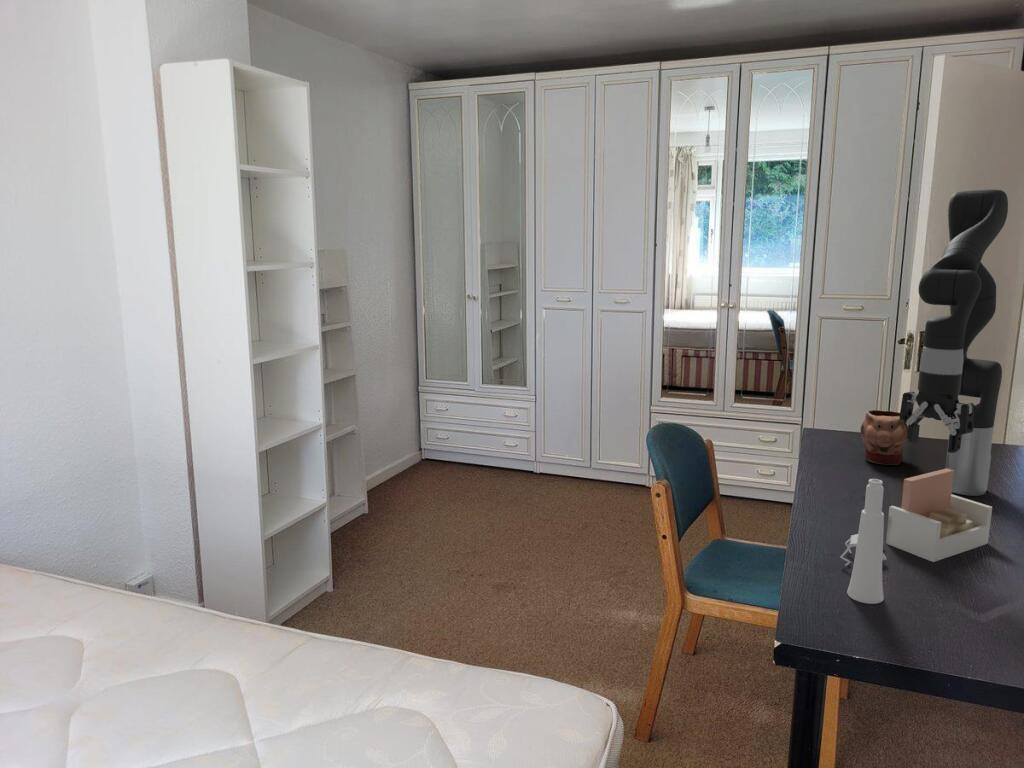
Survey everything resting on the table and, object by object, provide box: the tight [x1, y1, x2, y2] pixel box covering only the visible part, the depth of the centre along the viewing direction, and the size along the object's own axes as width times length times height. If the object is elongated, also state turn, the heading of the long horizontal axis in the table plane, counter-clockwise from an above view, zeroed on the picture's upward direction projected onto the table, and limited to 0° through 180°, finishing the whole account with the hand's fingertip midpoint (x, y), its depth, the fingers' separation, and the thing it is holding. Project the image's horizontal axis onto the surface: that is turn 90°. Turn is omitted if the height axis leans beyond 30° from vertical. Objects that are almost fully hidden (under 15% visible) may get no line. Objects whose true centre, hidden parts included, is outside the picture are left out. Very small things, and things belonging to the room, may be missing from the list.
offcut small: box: [929, 508, 967, 529], centre depth 156 cm, size 6×4×2 cm, turn 118°
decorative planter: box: [860, 409, 908, 466], centre depth 217 cm, size 20×12×14 cm, turn 161°
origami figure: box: [839, 533, 888, 566], centre depth 153 cm, size 12×8×5 cm
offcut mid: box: [940, 519, 973, 539], centre depth 157 cm, size 9×4×2 cm, turn 118°
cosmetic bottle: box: [846, 478, 885, 605], centre depth 137 cm, size 6×6×22 cm
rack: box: [885, 493, 993, 563], centre depth 158 cm, size 18×10×9 cm, turn 118°
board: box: [900, 467, 954, 518], centre depth 160 cm, size 14×2×14 cm, turn 118°
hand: (932, 447), depth 158 cm, fingers open, 8 cm apart
